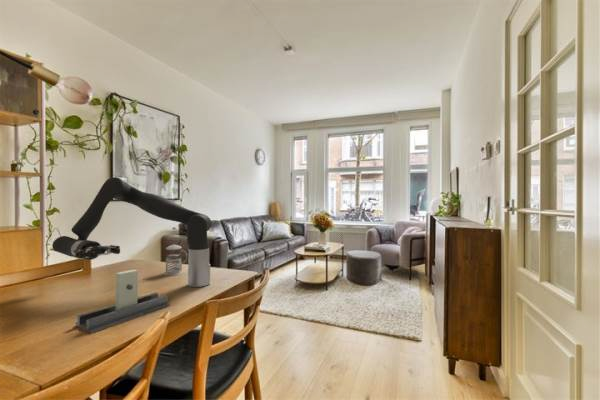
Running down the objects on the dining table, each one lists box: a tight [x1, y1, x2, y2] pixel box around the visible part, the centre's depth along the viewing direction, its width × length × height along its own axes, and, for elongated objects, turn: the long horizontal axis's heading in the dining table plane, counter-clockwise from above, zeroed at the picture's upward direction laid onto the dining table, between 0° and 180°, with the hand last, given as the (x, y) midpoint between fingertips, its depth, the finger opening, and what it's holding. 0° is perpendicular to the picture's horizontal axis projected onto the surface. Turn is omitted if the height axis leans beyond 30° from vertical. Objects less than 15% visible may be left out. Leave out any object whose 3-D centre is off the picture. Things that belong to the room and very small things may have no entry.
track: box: [75, 292, 171, 334], centre depth 97 cm, size 26×10×4 cm, turn 150°
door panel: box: [115, 269, 139, 310], centre depth 97 cm, size 6×4×14 cm, turn 149°
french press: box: [163, 226, 188, 276], centre depth 152 cm, size 10×12×25 cm
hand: (106, 253), depth 106 cm, fingers open, 8 cm apart
